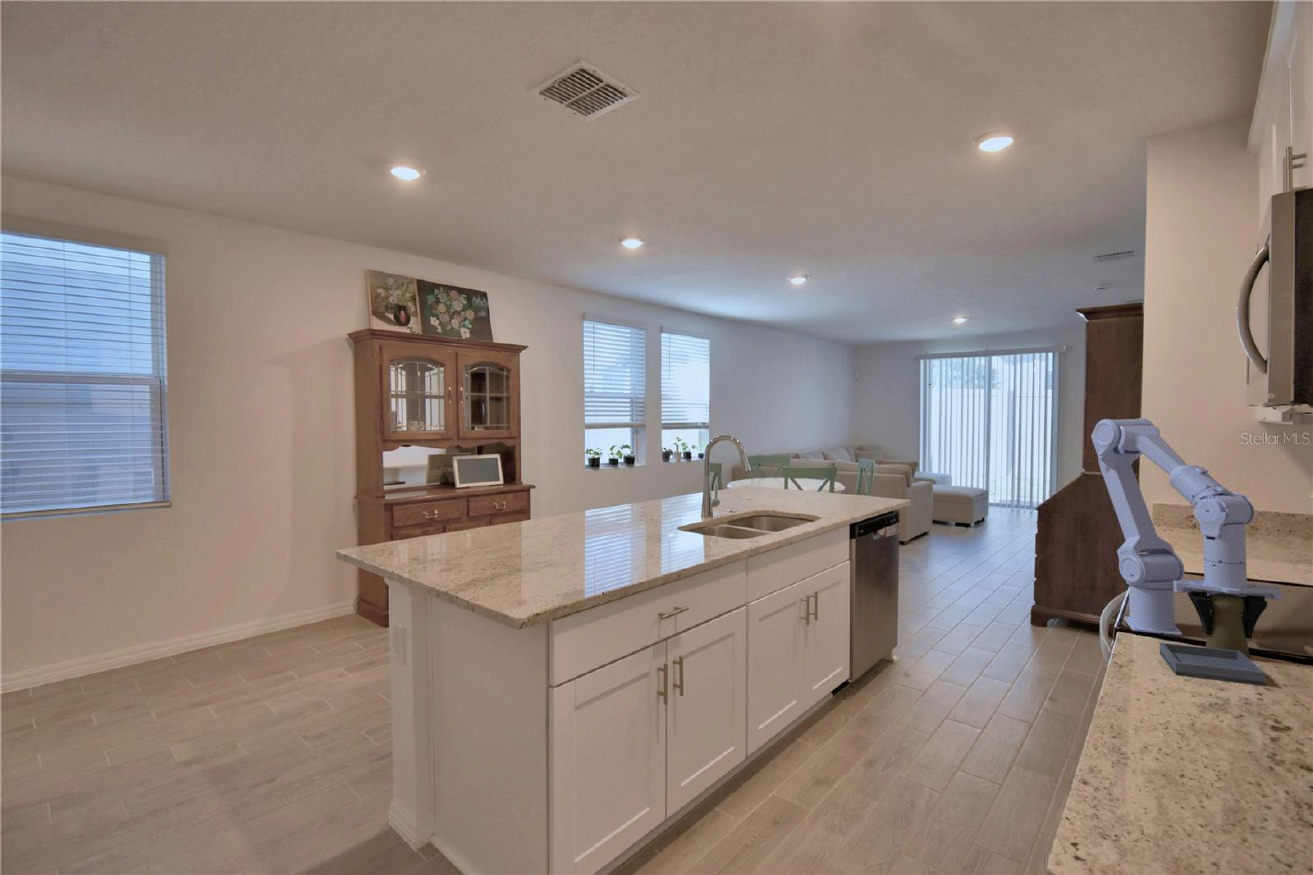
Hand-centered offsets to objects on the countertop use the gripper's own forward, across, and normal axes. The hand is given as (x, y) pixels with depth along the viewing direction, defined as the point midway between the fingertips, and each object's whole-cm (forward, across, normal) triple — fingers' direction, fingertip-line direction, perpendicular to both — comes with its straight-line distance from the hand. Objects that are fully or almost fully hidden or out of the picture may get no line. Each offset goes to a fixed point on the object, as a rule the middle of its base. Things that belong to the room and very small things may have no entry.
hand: (1226, 635), depth 113 cm
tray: (+3, -5, -10) cm, 12 cm away
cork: (+4, 0, 0) cm, 4 cm away
